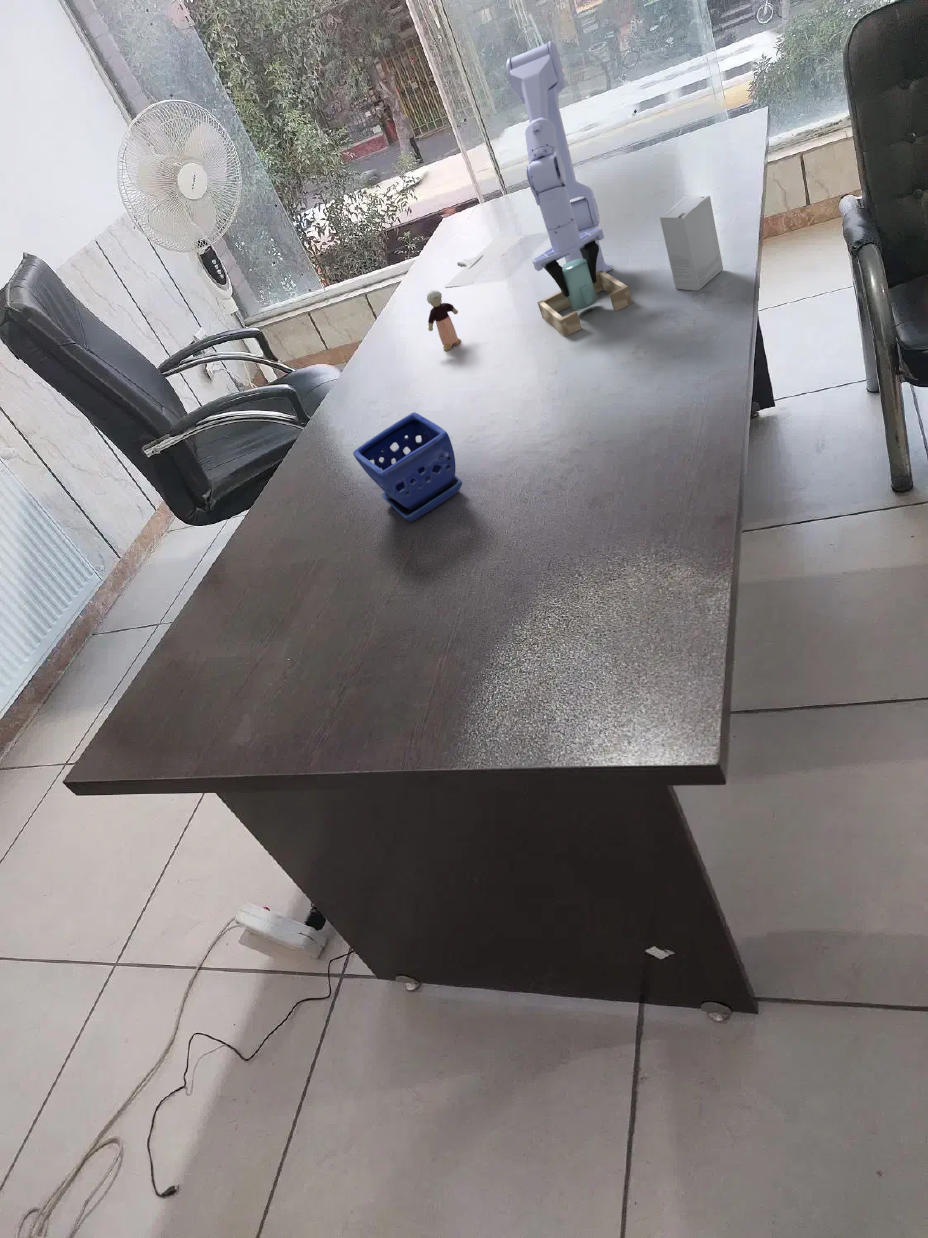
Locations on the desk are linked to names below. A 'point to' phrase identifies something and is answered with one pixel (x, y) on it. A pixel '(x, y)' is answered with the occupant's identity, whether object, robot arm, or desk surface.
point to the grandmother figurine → (442, 319)
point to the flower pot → (412, 465)
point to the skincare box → (692, 242)
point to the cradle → (571, 321)
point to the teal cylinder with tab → (579, 284)
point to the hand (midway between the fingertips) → (579, 288)
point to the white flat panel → (482, 261)
